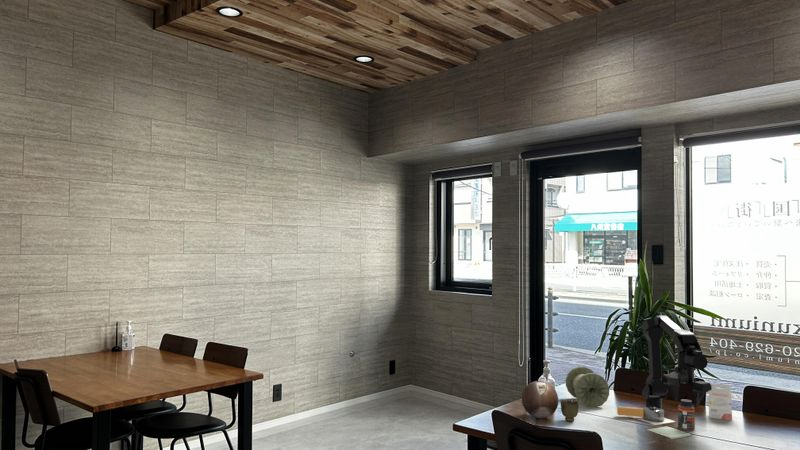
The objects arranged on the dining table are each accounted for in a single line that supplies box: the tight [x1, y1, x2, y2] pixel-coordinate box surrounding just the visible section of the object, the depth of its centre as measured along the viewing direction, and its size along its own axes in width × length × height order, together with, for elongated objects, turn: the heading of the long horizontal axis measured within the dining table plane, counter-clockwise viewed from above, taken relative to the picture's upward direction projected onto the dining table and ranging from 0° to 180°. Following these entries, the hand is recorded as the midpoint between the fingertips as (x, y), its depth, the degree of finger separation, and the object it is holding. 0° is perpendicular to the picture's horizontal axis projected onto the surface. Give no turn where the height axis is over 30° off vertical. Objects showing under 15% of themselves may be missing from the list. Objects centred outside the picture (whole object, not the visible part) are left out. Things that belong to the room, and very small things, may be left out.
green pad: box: [646, 425, 692, 440], centre depth 221 cm, size 11×11×1 cm
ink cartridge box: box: [707, 382, 733, 421], centre depth 243 cm, size 9×5×15 cm, turn 62°
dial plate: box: [631, 416, 677, 426], centre depth 239 cm, size 12×12×1 cm
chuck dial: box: [616, 405, 665, 422], centre depth 240 cm, size 18×8×5 cm, turn 76°
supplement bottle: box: [677, 398, 696, 431], centre depth 227 cm, size 6×6×11 cm
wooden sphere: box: [521, 380, 559, 419], centre depth 242 cm, size 15×15×15 cm
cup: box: [559, 399, 580, 423], centre depth 237 cm, size 8×7×8 cm
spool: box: [565, 366, 610, 409], centre depth 267 cm, size 16×15×15 cm
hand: (685, 404), depth 228 cm, fingers open, 9 cm apart
